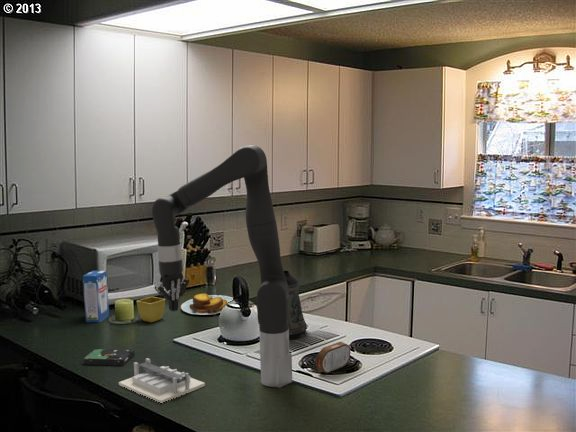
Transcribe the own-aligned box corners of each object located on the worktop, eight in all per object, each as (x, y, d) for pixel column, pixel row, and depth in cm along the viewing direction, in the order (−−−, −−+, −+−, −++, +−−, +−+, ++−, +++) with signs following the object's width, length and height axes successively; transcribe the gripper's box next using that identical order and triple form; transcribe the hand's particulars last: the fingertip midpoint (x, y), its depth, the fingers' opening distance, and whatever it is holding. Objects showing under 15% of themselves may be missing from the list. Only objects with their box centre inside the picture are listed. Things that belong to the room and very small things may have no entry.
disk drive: (134, 356, 234) (95, 355, 236) (134, 349, 234) (95, 347, 236) (123, 367, 224) (82, 365, 226) (123, 359, 223) (82, 358, 225)
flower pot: (152, 316, 281) (151, 296, 280) (166, 319, 276) (165, 298, 275) (137, 321, 274) (135, 300, 273) (151, 324, 269) (150, 303, 268)
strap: (186, 380, 199) (185, 376, 199) (178, 383, 197) (178, 379, 197) (146, 365, 213) (146, 361, 213) (138, 367, 211) (138, 364, 211)
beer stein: (298, 325, 263) (297, 265, 260) (315, 340, 245) (314, 275, 242) (259, 330, 258) (257, 269, 255) (273, 345, 240) (271, 279, 236)
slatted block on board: (204, 385, 205) (204, 368, 204) (161, 403, 192) (160, 385, 191) (162, 369, 219) (161, 353, 218) (118, 385, 207) (117, 367, 206)
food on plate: (249, 308, 290) (248, 294, 289) (204, 321, 273) (203, 306, 272) (214, 298, 308) (213, 285, 307) (170, 309, 291) (169, 295, 290)
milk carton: (95, 315, 285) (92, 270, 282) (109, 315, 284) (106, 270, 281) (85, 322, 275) (82, 275, 272) (99, 322, 274) (96, 276, 271)
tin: (345, 362, 222) (345, 338, 221) (352, 364, 220) (352, 340, 219) (315, 374, 212) (314, 349, 211) (322, 377, 210) (322, 352, 208)
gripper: (161, 263, 201) (165, 317, 204) (193, 255, 211) (197, 307, 213) (146, 261, 206) (150, 314, 208) (178, 253, 216) (182, 304, 218)
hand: (174, 310), depth 211 cm, fingers closed
